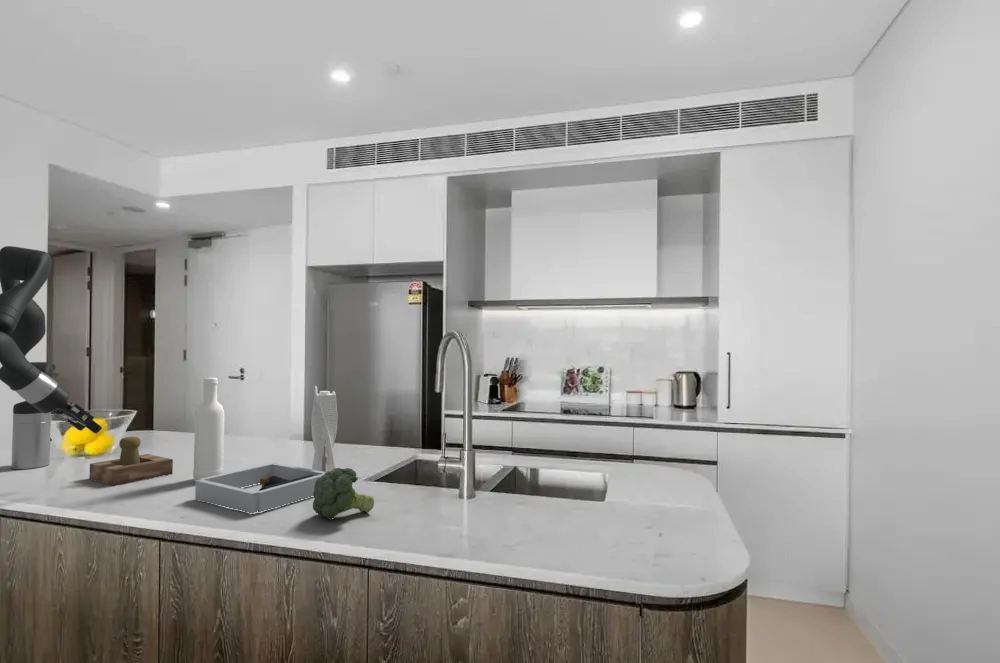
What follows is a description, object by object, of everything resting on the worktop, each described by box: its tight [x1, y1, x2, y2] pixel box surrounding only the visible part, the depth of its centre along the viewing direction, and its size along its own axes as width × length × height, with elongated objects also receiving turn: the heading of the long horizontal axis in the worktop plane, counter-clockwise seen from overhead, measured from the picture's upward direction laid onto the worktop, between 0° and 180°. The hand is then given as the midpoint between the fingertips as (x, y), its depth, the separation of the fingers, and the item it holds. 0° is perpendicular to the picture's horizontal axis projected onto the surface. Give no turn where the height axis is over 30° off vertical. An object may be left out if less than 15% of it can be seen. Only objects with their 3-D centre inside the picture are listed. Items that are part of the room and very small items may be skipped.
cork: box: [118, 436, 141, 466], centre depth 160 cm, size 6×6×11 cm
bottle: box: [192, 377, 225, 483], centre depth 160 cm, size 8×8×30 cm
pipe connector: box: [258, 475, 314, 491], centre depth 143 cm, size 12×5×15 cm
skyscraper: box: [310, 385, 339, 472], centre depth 160 cm, size 8×8×28 cm
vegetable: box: [312, 467, 375, 520], centre depth 128 cm, size 12×13×15 cm
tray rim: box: [194, 462, 326, 513], centre depth 144 cm, size 24×24×5 cm
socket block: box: [88, 453, 174, 487], centre depth 162 cm, size 14×16×4 cm
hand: (91, 429), depth 152 cm, fingers open, 8 cm apart
